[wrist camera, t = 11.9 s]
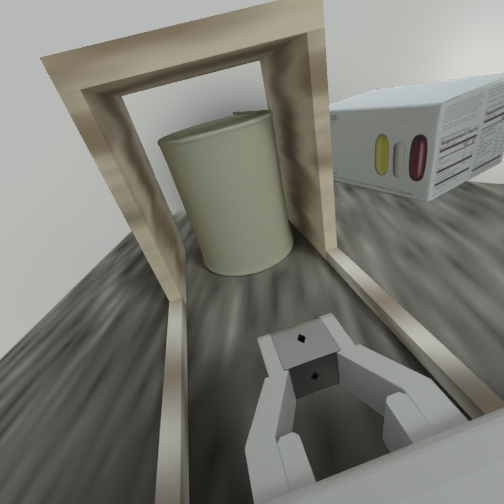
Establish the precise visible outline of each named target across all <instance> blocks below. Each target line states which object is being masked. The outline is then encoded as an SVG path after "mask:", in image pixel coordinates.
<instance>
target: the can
mask: <svg viewBox="0 0 504 504" xmlns="http://www.w3.org/2000/svg"><path fill="white" fill-rule="evenodd" d="M233 114H234V116H230V117H226V118H222V119H218V120H214V121H210V122H207V123H203V124H200V125H197V126H193V127H190V128H187V129H184V130H181V131H178V132H175V133H172V134H170V135H167V136H165V137H163V138H161V139H159V140H158V145H159V146H160V148H161V150H162V153H163V155H164V157H165V160H166V162H167V164H168V167H169V169H170V172H171V175H172V177H173V179H174V182H175V184H176V187H177V190H178V192H179V195H180V197H181V200H182V202H183V205H184V207H185V210H186V212H187V215H188V218H189V220H190V223H191V225H192V228H193V231H194V233H195V236H196V238H197V241H198V244H199V247H200V249H201V252H202V255H203V261H204V264H205V266H206V267H207V268H208V269H209V270H210V271H211V272H213V273H216V274H218V275H222V276H231V277H237V276H246V275H251V274H255V273H258V272H262V271H264V270H267V269H269V268H271V267H273V266H275V265H276V264H278V263H279V262H281V261H282V260H283V259H284V258H285V257H286V256H287V255H288V254H289V253H290V251H291V249H292V247H293V243H294V239H293V235H292V233H291V229H290V225H289V219H288V214H287V208H286V202H285V196H284V190H283V184H282V178H281V172H280V165H279V159H278V153H277V146H276V140H275V132H274V125H273V113H272V111H271V110H260V111H246V112H233Z"/></svg>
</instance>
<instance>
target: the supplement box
mask: <svg viewBox="0 0 504 504" xmlns="http://www.w3.org/2000/svg"><path fill="white" fill-rule="evenodd" d="M329 115H330V133H331V150H332V167H333V180H334V181H338V182H343V183H347V184H351V185H356V186H360V187H364V188H368V189H373V190H377V191H381V192H386V193H390V194H394V195H399V196H403V197H407V198H412V199H417V200H421V201H426V202H428V201H430V200H432V199H434V198H436V197H438V196H440V195H442V194H443V193H445V192H447V191H449V190H451V189H453V188H454V187H456V186H458V185H460V184H462V183H464V182H465V181H468V180H470V179H471V178H473V177H475V176H477V175H478V174H480V173H482V172H484V171H486V170H487V169H489V168H491V167H493V166H495V165H497V164H499V163H501V160H502V156H503V152H504V73H502V74H495V75H486V76H478V77H470V78H462V79H455V80H447V81H439V82H431V83H423V84H415V85H407V86H399V87H390V88H377V89H374V90H371V91H368V92H365V93H362V94H359V95H356V96H353V97H350V98H347V99H344V100H341V101H338V102H335V103H332V104H329Z"/></svg>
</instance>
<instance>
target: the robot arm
mask: <svg viewBox="0 0 504 504" xmlns="http://www.w3.org/2000/svg"><path fill="white" fill-rule="evenodd" d="M257 340H258V344H259V347H260V350H261V353H262V357H263V360H264V363H265V366H266V369H267V373H268V376H269V377H266V378H265V380H264V383H263V386H262V390H261V393H260V397H259V400H258V404H257V407H256V411H255V414H254V418H253V421H252V425H251V428H250V432H249V435H248V439H247V442H246V446H245V453H246V459H247V465H248V471H249V477H250V483H251V489H252V494H253V500H254V504H504V408H501V409H499V410H496V411H493V412H491V413H488V414H486V415H483V416H481V417H478V418H476V419H473V420H471V421H468V420H467V419H466V417H465V416H464V415H463V414H462V413H461V412H460V411H459V410H458V409H457V407H456V406H455V405H454V404H453V403H452V402H451V401H450V400H449V399H448V397H447V396H446V395H445V394H444V393H443V392H442V391H441V390H440V389H439V387H438V386H437V385H436V384H435V383H434V382H433V381H432V380H431V379H430V378H428V377H426V376H424V375H422V374H420V373H418V372H416V371H414V370H411V369H409V368H407V367H405V366H403V365H401V364H399V363H397V362H395V361H393V360H391V359H389V358H387V357H385V356H383V355H381V354H379V353H376V352H374V351H372V350H370V349H368V348H366V347H364V346H362V345H360V344H358V345H355V344H354V343H353V341H352V340H351V338H350V337H349V336H348V334H347V333H346V332H345V330H344V329H343V327H342V326H341V325H340V323H339V322H338V321H337V319H336V318H335V316H334V315H333V314H332V313H328V314H325V315H323V316H320V317H316V318H313V319H311V320H308V321H305V322H302V323H299V324H297V325H294V326H292V327H289V328H286V329H283V330H280V331H276V332H273V333H270V334H267V335H264V336H261V337H258V338H257ZM339 383H340V385H341V386H342V387H344V388H345V389H346V390H348V391H349V392H350V393H352V394H353V395H354V396H356V397H357V398H359V399H360V400H361V401H363V402H364V403H365V404H367V405H368V406H370V407H371V408H372V409H374V410H375V411H376V412H378V413H379V414H380V415H382V416H383V417H385V418H384V427H383V437H382V440H383V441H384V443H385V445H386V446H387V448H388V450H389V452H390V453H388V454H386V455H383V456H381V457H378V458H376V459H373V460H371V461H368V462H366V463H363V464H361V465H358V466H356V467H353V468H351V469H348V470H345V471H343V472H340V473H338V474H335V475H333V476H330V477H328V478H325V479H323V480H320V481H318V482H316V480H315V477H314V475H313V472H312V469H311V466H310V464H309V461H308V458H307V455H306V452H305V450H304V447H303V444H302V441H301V439H300V436H299V435H298V434H296V433H294V432H292V430H293V423H294V415H295V408H296V399H298V398H301V397H303V396H306V395H308V394H311V393H313V392H316V391H318V390H321V389H324V388H327V387H330V386H333V385H336V384H339Z"/></svg>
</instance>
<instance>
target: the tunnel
mask: <svg viewBox="0 0 504 504" xmlns="http://www.w3.org/2000/svg"><path fill="white" fill-rule="evenodd" d="M40 59H41V61H42V63H43V65H44V67H45V68H46V70H47V72H48V74H49V76H50V78H51V80H52V81H53V84H54V85H55V87H56V89H57V91H58V93H59V95H60V97H61V98H62V101H63V102H64V104H65V106H66V108H67V110H68V112H69V114H70V116H71V117H72V119H73V121H74V123H75V125H76V127H77V129H78V130H79V132H80V134H81V136H82V138H83V140H84V142H85V144H86V146H87V147H88V149H89V151H90V153H91V155H92V157H93V159H94V160H95V163H96V164H97V166H98V168H99V170H100V172H101V174H102V176H103V177H104V179H105V181H106V183H107V185H108V187H109V189H110V190H111V192H112V194H113V196H114V198H115V200H116V202H117V204H118V206H119V208H120V209H121V211H122V213H123V215H124V217H125V219H126V221H127V223H128V225H129V226H130V228H131V230H132V232H133V234H134V236H135V238H136V240H137V242H138V243H139V245H140V247H141V249H142V251H143V253H144V255H145V257H146V258H147V260H148V262H149V264H150V266H151V268H152V270H153V272H154V273H155V275H156V277H157V279H158V281H159V283H160V285H161V287H162V288H163V290H164V292H165V294H166V296H167V298H168V300H169V315H168V329H167V342H166V356H165V370H164V383H163V397H162V411H161V424H160V438H159V452H158V465H157V479H156V493H155V504H189V446H188V373H187V300H186V247H185V245H184V243H183V240H182V238H181V236H180V233H179V231H178V229H177V226H176V224H175V221H174V219H173V217H172V214H171V212H170V210H169V207H168V205H167V203H166V200H165V198H164V195H163V194H162V191H161V188H160V186H159V184H158V181H157V179H156V177H155V174H154V172H153V170H152V167H151V165H150V162H149V160H148V158H147V155H146V153H145V151H144V148H143V146H142V144H141V141H140V139H139V137H138V134H137V132H136V129H135V127H134V125H133V123H132V120H131V118H130V115H129V113H128V111H127V108H126V106H125V103H124V101H123V99H122V96H123V95H127V94H131V93H135V92H138V91H142V90H146V89H150V88H154V87H157V86H162V85H166V84H170V83H173V82H177V81H181V80H185V79H188V78H193V77H196V76H201V75H204V74H208V73H212V72H216V71H219V70H223V69H227V68H231V67H235V66H239V65H243V64H247V63H250V62H255V61H259V60H260V63H261V69H262V75H263V81H264V87H265V93H266V99H267V105H268V110H271V111H272V113H273V125H274V132H275V140H276V146H277V153H278V159H279V165H280V172H281V178H282V184H283V190H284V196H285V202H286V208H287V214H288V219H289V220H290V221H291V223H292V224H293V225H294V226H295V227H296V228H297V229H298V230H299V231H300V232H301V233H302V234H303V236H304V237H305V238H306V239H307V240H308V241H309V242H310V243H311V244H312V245H313V246H314V248H315V249H316V250H317V251H318V252H319V253H320V254H321V255H322V256H323V257H324V258H325V259H326V261H327V262H328V263H329V264H330V265H331V266H332V267H333V268H334V269H335V270H336V271H337V273H338V274H339V275H340V276H341V277H342V278H343V279H344V280H345V281H346V282H347V283H348V284H349V286H350V287H351V288H352V289H353V290H354V291H355V292H356V293H357V294H358V295H359V296H360V298H361V299H362V300H363V301H364V302H365V303H366V304H367V305H368V306H369V307H370V308H371V310H372V311H373V312H374V313H375V314H376V315H377V316H378V317H379V318H380V319H381V320H382V321H383V323H384V324H385V325H386V326H387V327H388V328H389V329H390V330H391V331H392V332H393V333H394V335H395V336H396V337H397V338H398V339H399V340H400V341H401V342H402V343H403V344H404V345H405V346H406V348H407V349H408V350H409V351H410V352H411V353H412V354H413V355H414V356H415V357H416V358H417V360H418V361H419V362H420V363H421V364H422V365H423V366H424V367H425V368H426V369H427V370H428V371H429V373H430V374H431V375H432V376H433V377H434V378H435V379H436V380H437V381H438V382H439V383H440V385H441V386H442V387H443V388H444V389H445V390H446V391H447V392H448V393H449V394H450V395H451V396H452V398H453V399H454V400H455V401H456V402H457V403H458V404H459V405H460V406H461V407H462V408H463V410H464V411H465V412H466V413H467V414H468V415H469V416H470V417H471V418H472V419H476V418H478V417H481V416H483V415H486V414H488V413H491V412H493V411H496V410H499V409H501V408H504V401H503V400H502V399H501V398H500V397H499V396H498V395H497V394H496V393H495V392H494V391H492V390H491V389H490V388H489V387H488V386H487V385H486V384H485V383H484V382H483V381H482V380H481V379H480V378H478V377H477V376H476V375H475V374H474V373H473V372H472V371H471V370H470V369H469V368H468V367H467V366H465V365H464V364H463V363H462V362H461V361H460V360H459V359H458V358H457V357H456V356H455V355H454V354H452V353H451V352H450V351H449V350H448V349H447V348H446V347H445V346H444V345H443V344H442V343H441V342H439V341H438V340H437V339H436V338H435V337H434V336H433V335H432V334H431V333H430V332H429V331H428V330H426V329H425V328H424V327H423V326H422V325H421V324H420V323H419V322H418V321H417V320H416V319H415V318H413V317H412V316H411V315H410V314H409V313H408V312H407V311H406V310H405V309H404V308H403V307H402V306H400V305H399V304H398V303H397V302H396V301H395V300H394V299H393V298H392V297H391V296H390V295H389V294H387V293H386V292H385V291H384V290H383V289H382V288H381V287H380V286H379V285H378V284H377V283H376V282H374V281H373V280H372V279H371V278H370V277H369V276H368V275H367V274H366V273H365V272H364V271H363V270H361V269H360V268H359V267H358V266H357V265H356V264H355V263H354V262H353V261H352V260H351V259H350V258H348V257H347V256H346V255H345V254H344V253H343V252H342V251H341V250H340V249H339V248H338V247H337V236H336V219H335V202H334V184H333V167H332V150H331V133H330V115H329V98H328V81H327V63H326V46H325V29H324V13H323V0H277V1H273V2H270V3H265V4H261V5H257V6H253V7H249V8H244V9H240V10H236V11H232V12H228V13H224V14H220V15H215V16H211V17H207V18H203V19H199V20H194V21H190V22H186V23H182V24H178V25H174V26H170V27H165V28H161V29H157V30H153V31H149V32H144V33H140V34H136V35H132V36H128V37H124V38H119V39H116V40H111V41H107V42H103V43H99V44H95V45H91V46H86V47H82V48H78V49H74V50H70V51H66V52H61V53H57V54H53V55H49V56H45V57H41V58H40Z"/></svg>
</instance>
